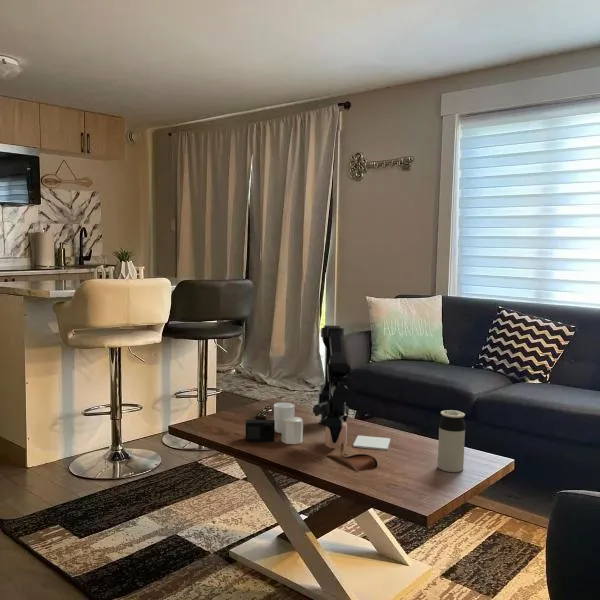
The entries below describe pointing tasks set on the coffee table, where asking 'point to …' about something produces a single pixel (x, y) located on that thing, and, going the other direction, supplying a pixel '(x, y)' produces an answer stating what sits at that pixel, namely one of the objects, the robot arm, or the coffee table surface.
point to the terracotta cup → (341, 438)
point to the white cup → (282, 414)
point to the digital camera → (260, 430)
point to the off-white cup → (292, 430)
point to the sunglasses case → (352, 458)
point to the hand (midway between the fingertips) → (336, 439)
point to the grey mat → (372, 442)
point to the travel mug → (451, 441)
